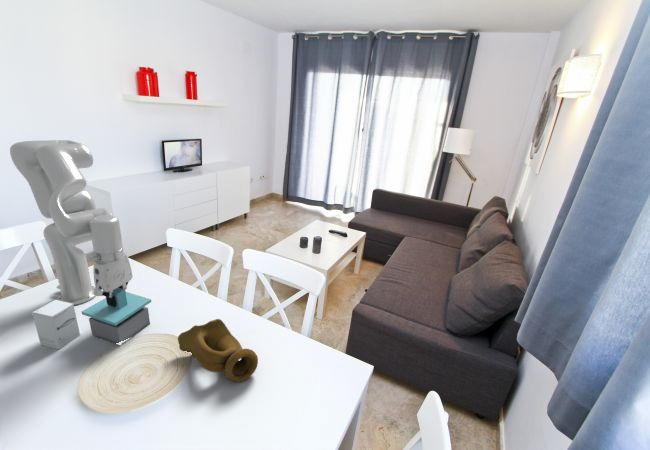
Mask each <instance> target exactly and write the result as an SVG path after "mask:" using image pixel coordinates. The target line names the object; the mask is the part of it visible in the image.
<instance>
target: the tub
mask: <svg viewBox="0 0 650 450" xmlns="http://www.w3.org/2000/svg"><path fill="white" fill-rule="evenodd" d="M88 321H89V326H90V330H91V334H92V337H95V338H98V339H100V340H103V341H106V342H109V343H111V344H114V345H116V343H119V342H121V341H124V340H126V339H128V338H130V337H132V338H134V337H135V336H136V335H137V334H138V333H140V332H142V331H143V330H144V329H146V328H147V327H149V325H151V320H150V312H149V307H147V306H144V307H143V308H141V309H140V310H138V311H137V312H136V313H134V314H133V315H131V316H130V317H128V318H127V319H125V320H124V321H122V322H121V323H119V324H118V325H116V326H115V325H112V324H109V323H106V322H103V321H100V320H97V319H94V318H91V317H88Z"/></svg>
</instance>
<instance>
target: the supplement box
mask: <svg viewBox="0 0 650 450" xmlns="http://www.w3.org/2000/svg"><path fill="white" fill-rule="evenodd" d="M31 314H32V318H33V321H34V326H35V329H36V332H37V336H38V339H39V343H40V346H41V345H42V346H45V347H48V348H52V349H54V350H55V349H56V350H61V349H62V348H63V347H64V346H66V345H68V343H70V342H71V341H73V340H74V339H76V338H77V337H79V336H80V335H81V332H80V328H79V324H78V318H77V314H76V309H75V305H73V304H72V303H68V302H63V301H59V300H57V299H55V300H52V301H50V302H49V303H46V304H45V305H43V306H41V307H39V308H37V309H36V310H34V311H32V312H31Z"/></svg>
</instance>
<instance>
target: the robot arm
mask: <svg viewBox="0 0 650 450" xmlns="http://www.w3.org/2000/svg"><path fill="white" fill-rule="evenodd" d="M9 154H10V158H11V160H12V162H13V165H14V166H15V168H16V169H17V170H18V172H19V173H20V174H21V175H22V176H23V177H24V179H25V181H27V183H28V185H29V187H30V190H31V192H32V194H33V195H32V196H33V198H34V200H35V202H36V205H37V207H38V210H39V211H40V212H39V213H40V214H41V215H42V217H44V218H46V219H50V220H52V221H53V223H50V224H48V225H47V226H46V227H44V229H43V237H44V240H45V242H46V244H47V246H48V248H49V250H50V254H51V257H52V259H53V264H54V267H55V273H56V276H57V280H58V284H59V285H57V286H56V288H57V289H58V290H60V294H59V295H58V296H57V298H56V300H59V301H63V302H68V303H72V304H73V305H74V306H75V305H80V304H83V303H87V302H89V301H90V300H92V299H94V298H96V297H103V296H104V297H105V298H106V301H107V304H108V305H109V306H112V307H116V299H115V296H113V290H114V289H116V288H121V289H125V291H126V290H127V289H128V284H129V282H130V281H131V280H132V279H133V272H132V267H131V263H130V259H129V258H128V255H127V253H126V252H124V249H123V248H124V246H123V239H122V233H121V232H122V231H121V223H120V220H119V218H118V217H117V216H115V215H113V213H112V212H111V211H109V209H107V208H104V207H103V208H102V207H100V208H99V207H98V208H97V206H96V203H95V200H94V199H93V196H92V195H91V193H90V192H89V191H87V190H86V189H85V188H86V186H87V180H86V178H85V177H84V175H83V174H82V172H81V170H80V169H88V168H91V167H92V166H93V164H94V157H93V153H92V152H91V150H90V149H89V148H88V147H87V146H86V145H85V144H83V143H81V142H77V141H73V140H69V139H68V140H67V139H63V140H62V139H60V140H56V139H54V140H52V139H51V140H50V139H49V140H48V139H47V140H25V141H19V142H16V143H13V144H11V146H10V148H9ZM87 242H92V247H93V255H94V256H92V257H91V261H92V262H93V268H92V269H93V272H92V273H93V282H94V285H92V281H91V276H90V271H89V266H88V259H87V255H86V253H85V252H84V251H83V249H81V248H79V247H77V246H78V245H80V244H83V243H87Z"/></svg>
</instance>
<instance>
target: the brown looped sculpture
mask: <svg viewBox="0 0 650 450" xmlns="http://www.w3.org/2000/svg"><path fill="white" fill-rule="evenodd" d="M177 341H178V347H179V350H180V351H182V352H184V351H187V352H191V353H192V356H193V357H192V356H191V357H192V358H195V359H196V361H197V363H198V364H199V366H201V367H202V368H203V369H204V370H206V371H208V372H213V373H219V372H224V375H225V376H226V378H227V379H229V380H231V381H233V382H237V383H238V382H243V381H246V380H248V379H249V378H250V377H251V376H253V374H254V373H255V372H256V370H257V369H258V368H257V367H258V365H259V358H258V355H257V353H256V352H255V351H254V350H253V349H249V348H243V346H242V345H241V343H240V342H239V340H238V338H236V337H235V336H233V334H232V333H231V331H230V330H229V329H228V327H227V326H226V323H224V322H223V319H220V318H216V319H213V320H209V321H208V322H207V323H204V324H202V325H201V324H200V325H197V324H196V325H193V326H192V327H190V329H188V330H186V331H183V332H181V333H180V334H179V335H178V337H177Z"/></svg>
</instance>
